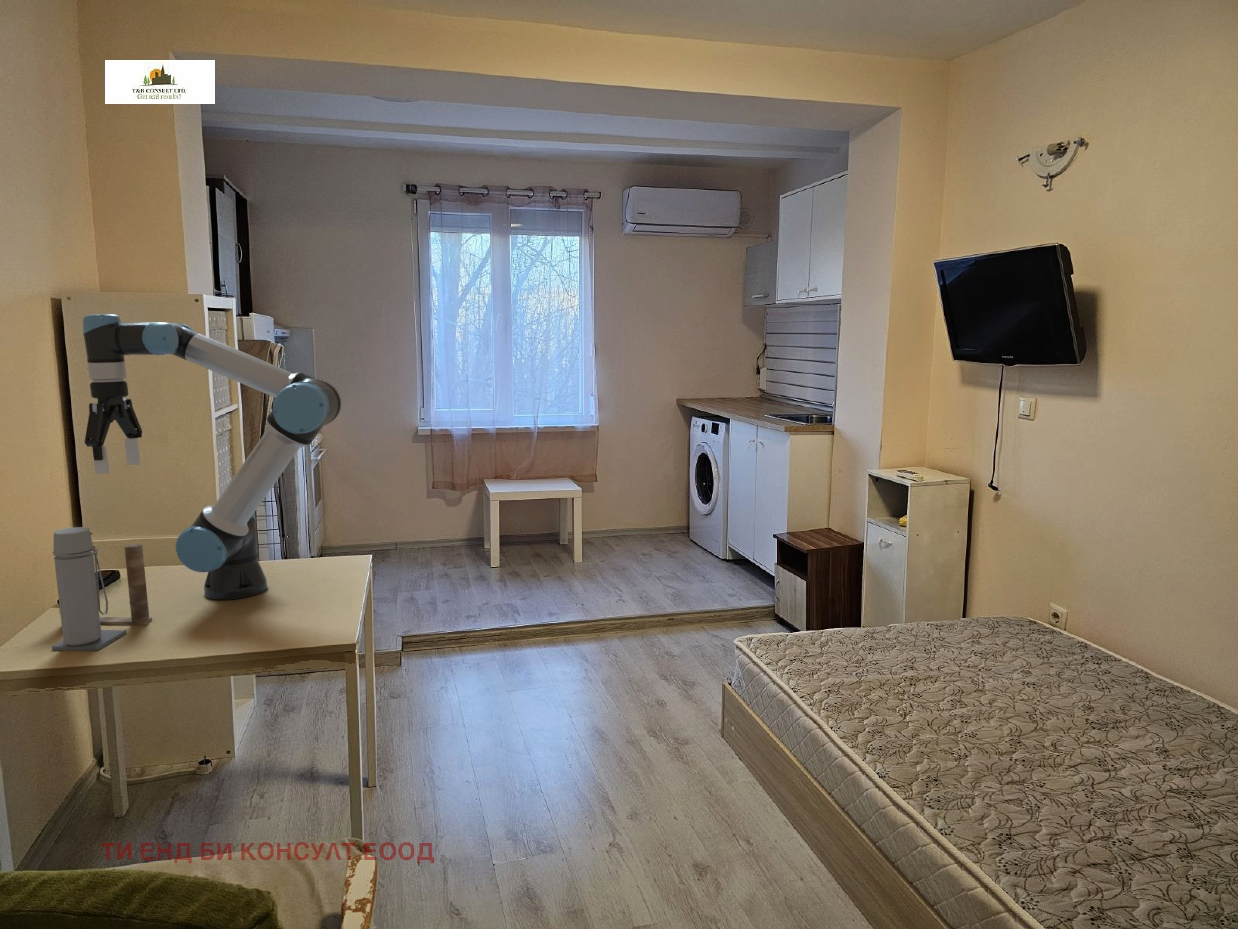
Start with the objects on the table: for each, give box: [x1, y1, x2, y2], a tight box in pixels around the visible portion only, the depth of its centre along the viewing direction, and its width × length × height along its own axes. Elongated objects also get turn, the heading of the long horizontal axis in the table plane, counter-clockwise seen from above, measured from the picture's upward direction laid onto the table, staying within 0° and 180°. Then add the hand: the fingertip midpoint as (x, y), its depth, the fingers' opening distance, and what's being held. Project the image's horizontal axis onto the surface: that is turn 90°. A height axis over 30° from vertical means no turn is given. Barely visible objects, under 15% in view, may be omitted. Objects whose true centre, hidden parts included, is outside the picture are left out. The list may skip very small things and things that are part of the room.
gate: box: [100, 543, 153, 626], centre depth 189 cm, size 20×4×19 cm, turn 89°
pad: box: [51, 629, 127, 652], centre depth 179 cm, size 10×10×1 cm
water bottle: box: [52, 526, 109, 646], centre depth 176 cm, size 9×8×25 cm
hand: (118, 469), depth 194 cm, fingers open, 13 cm apart
